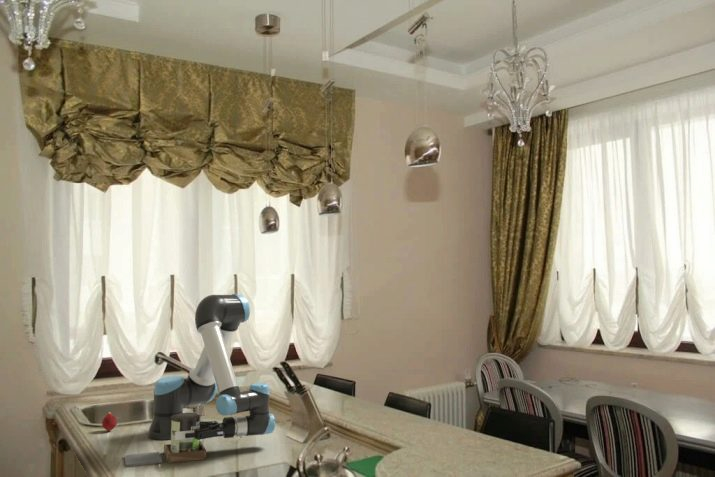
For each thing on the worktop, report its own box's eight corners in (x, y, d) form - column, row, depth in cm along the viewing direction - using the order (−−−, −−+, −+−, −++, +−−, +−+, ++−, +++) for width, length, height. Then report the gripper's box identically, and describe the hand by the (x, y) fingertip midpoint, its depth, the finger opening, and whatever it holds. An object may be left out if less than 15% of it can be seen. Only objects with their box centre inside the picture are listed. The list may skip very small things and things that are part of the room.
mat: (124, 457, 221) (124, 455, 221) (158, 453, 226) (158, 451, 226) (126, 467, 210) (126, 464, 210) (162, 463, 215) (162, 460, 215)
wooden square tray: (163, 452, 227) (164, 444, 227) (200, 449, 232) (200, 441, 232) (168, 462, 215) (168, 454, 215) (206, 458, 220) (206, 450, 220)
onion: (118, 429, 260) (119, 410, 260) (113, 433, 254) (114, 413, 254) (104, 429, 259) (105, 410, 260) (99, 433, 254) (100, 413, 254)
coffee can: (203, 451, 228) (205, 413, 228) (191, 459, 217) (192, 419, 218) (178, 449, 230) (179, 411, 230) (164, 457, 220) (165, 418, 220)
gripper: (240, 444, 221) (177, 451, 212) (227, 429, 241) (169, 435, 232) (241, 423, 221) (177, 429, 212) (228, 410, 242) (170, 415, 233)
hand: (173, 432), depth 222 cm, fingers closed on coffee can, 10 cm apart
